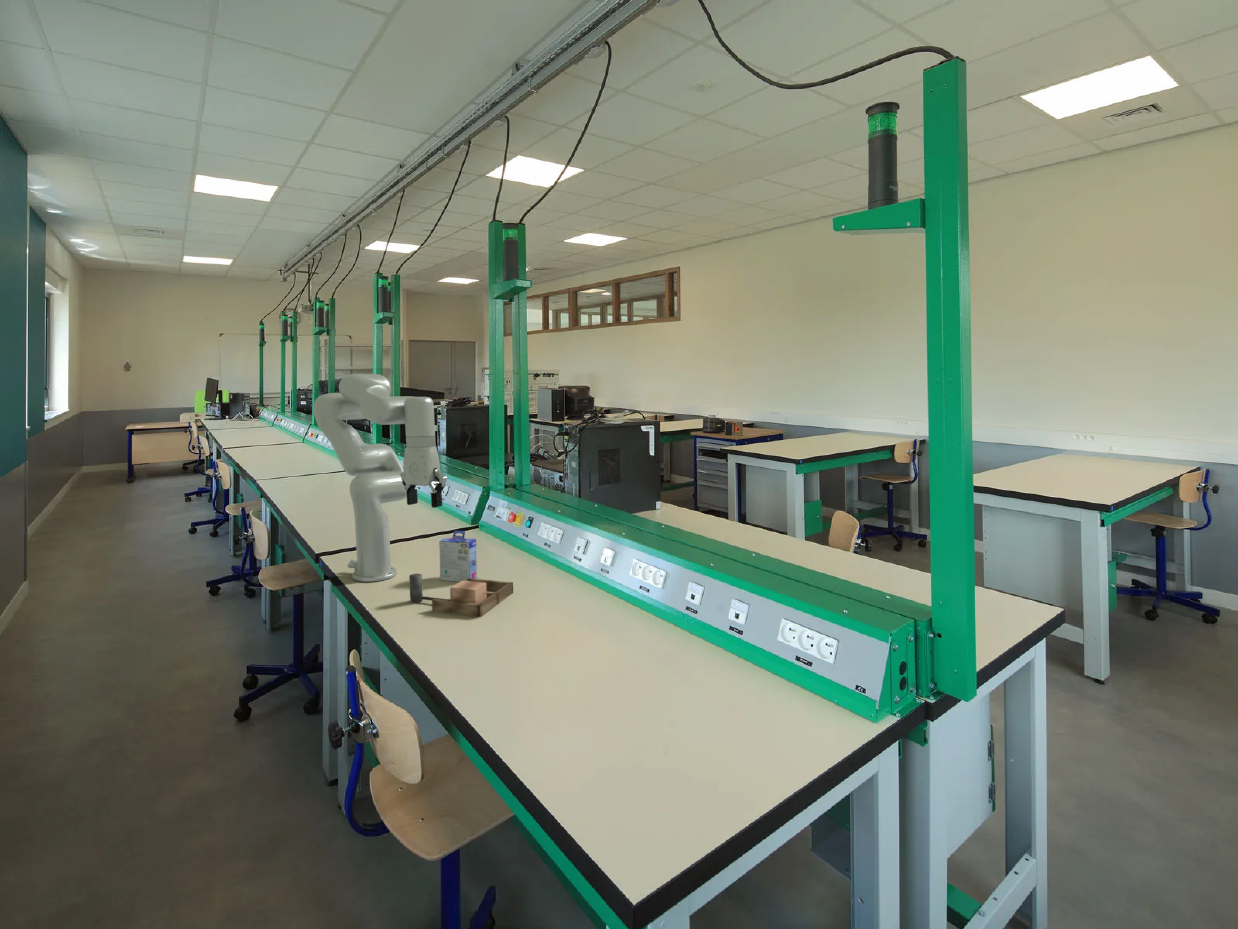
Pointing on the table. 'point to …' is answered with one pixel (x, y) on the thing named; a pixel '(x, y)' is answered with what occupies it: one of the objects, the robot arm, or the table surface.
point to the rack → (494, 597)
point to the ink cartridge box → (458, 558)
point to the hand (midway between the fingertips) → (424, 505)
